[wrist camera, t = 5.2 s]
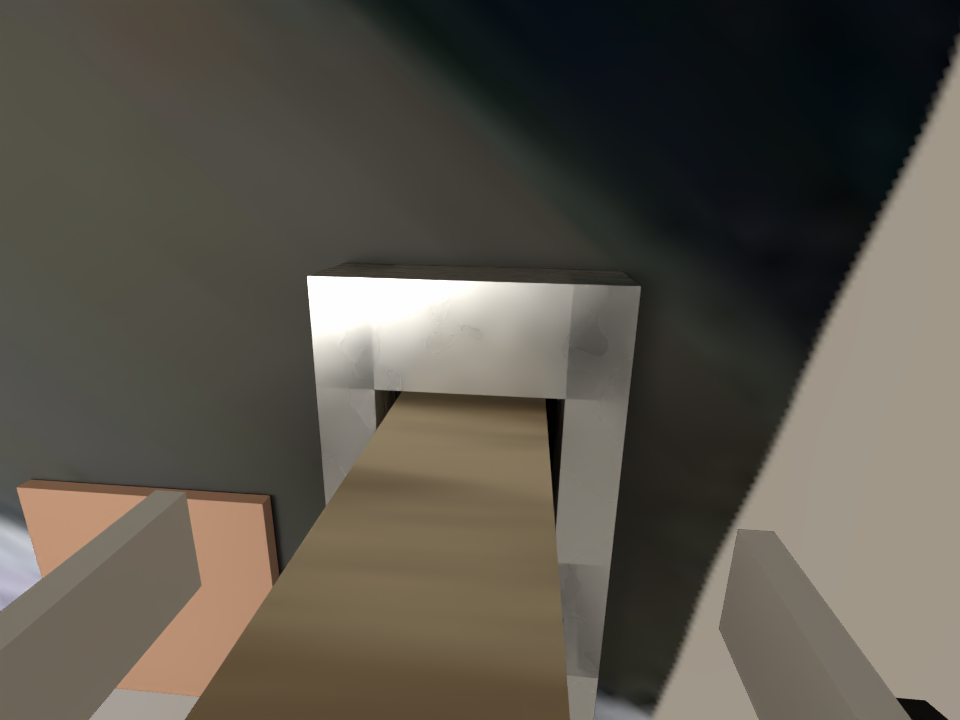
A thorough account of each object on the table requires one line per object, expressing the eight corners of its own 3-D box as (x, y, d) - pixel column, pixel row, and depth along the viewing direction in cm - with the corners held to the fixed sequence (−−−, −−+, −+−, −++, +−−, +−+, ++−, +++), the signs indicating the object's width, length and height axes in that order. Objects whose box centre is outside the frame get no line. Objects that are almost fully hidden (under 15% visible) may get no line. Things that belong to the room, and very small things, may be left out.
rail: (572, 771, 23) (578, 852, 20) (373, 750, 24) (351, 826, 21) (621, 271, 16) (641, 286, 14) (344, 262, 17) (307, 276, 14)
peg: (536, 495, 19) (554, 1172, 6) (416, 487, 20) (173, 1107, 6) (543, 379, 18) (585, 915, 4) (413, 373, 18) (97, 852, 5)
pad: (293, 693, 23) (287, 705, 23) (82, 672, 24) (71, 684, 23) (270, 495, 20) (262, 504, 20) (30, 479, 21) (16, 487, 20)
